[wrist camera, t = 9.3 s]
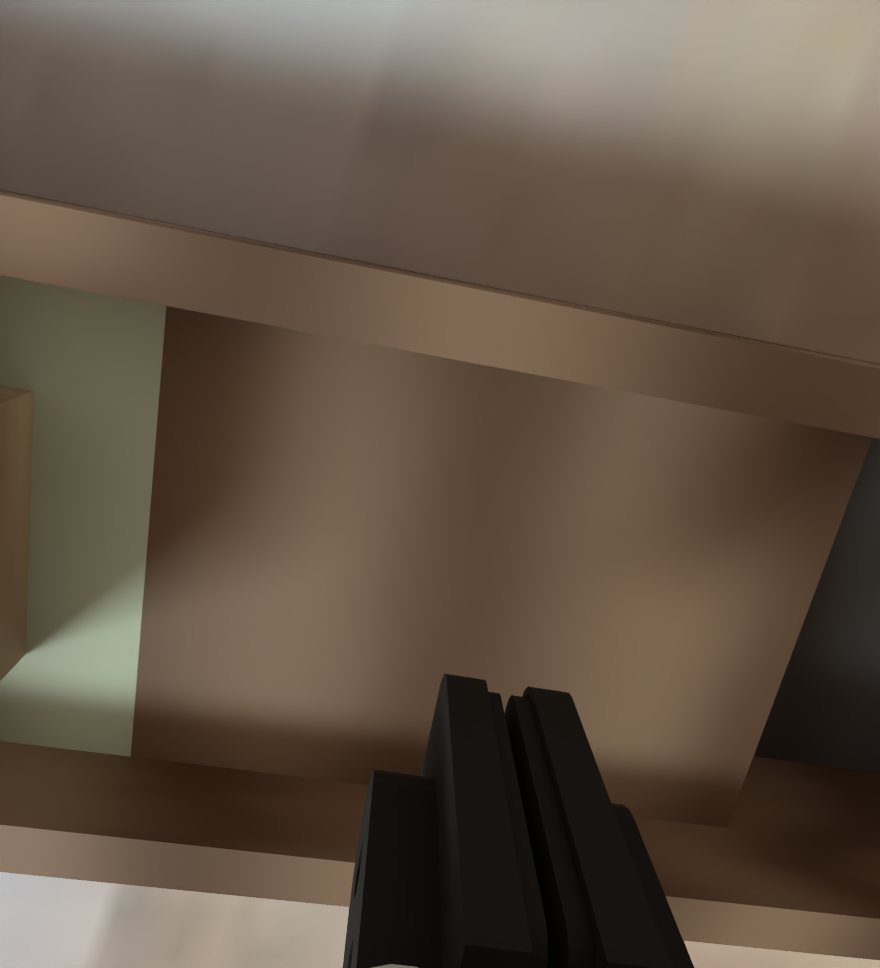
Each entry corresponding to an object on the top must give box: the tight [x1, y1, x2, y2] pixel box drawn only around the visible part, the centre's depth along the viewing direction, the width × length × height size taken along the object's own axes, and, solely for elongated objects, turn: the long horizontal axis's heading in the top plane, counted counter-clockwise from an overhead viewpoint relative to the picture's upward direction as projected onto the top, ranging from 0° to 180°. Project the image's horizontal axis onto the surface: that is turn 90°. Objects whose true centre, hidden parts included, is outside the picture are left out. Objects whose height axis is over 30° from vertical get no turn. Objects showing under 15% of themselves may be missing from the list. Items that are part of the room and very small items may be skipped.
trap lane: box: [0, 190, 880, 960], centre depth 14 cm, size 36×11×5 cm, turn 79°
